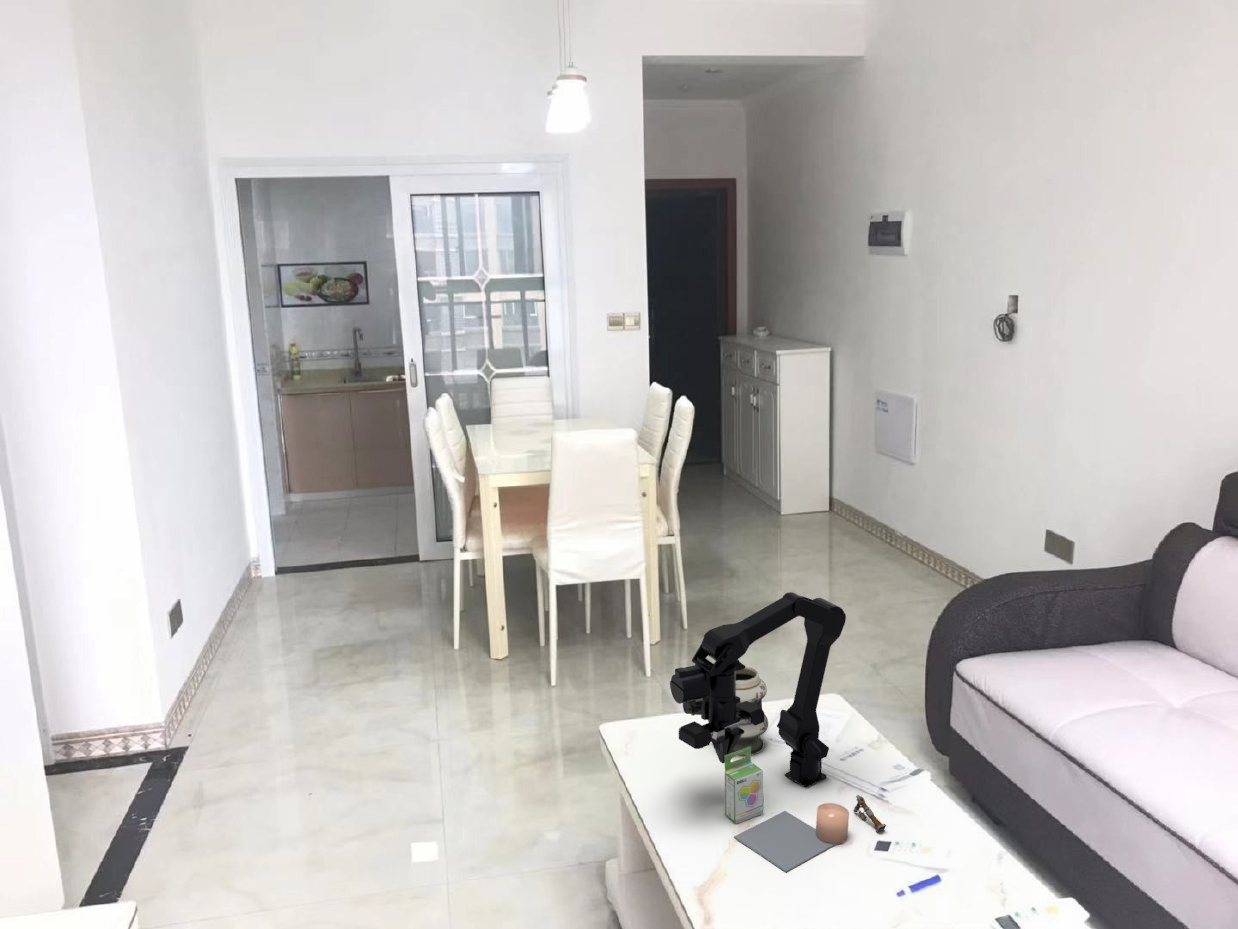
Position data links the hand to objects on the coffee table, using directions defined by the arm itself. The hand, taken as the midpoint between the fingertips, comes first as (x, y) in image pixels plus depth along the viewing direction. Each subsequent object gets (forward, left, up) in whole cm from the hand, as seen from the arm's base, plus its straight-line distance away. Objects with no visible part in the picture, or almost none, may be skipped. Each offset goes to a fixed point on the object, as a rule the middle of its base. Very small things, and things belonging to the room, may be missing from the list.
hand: (722, 762), depth 199 cm
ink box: (0, +6, -9) cm, 11 cm away
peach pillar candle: (-8, +22, -9) cm, 25 cm away
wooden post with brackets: (-17, +24, -9) cm, 31 cm away
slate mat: (0, +18, -9) cm, 20 cm away
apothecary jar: (-19, -15, -9) cm, 26 cm away
